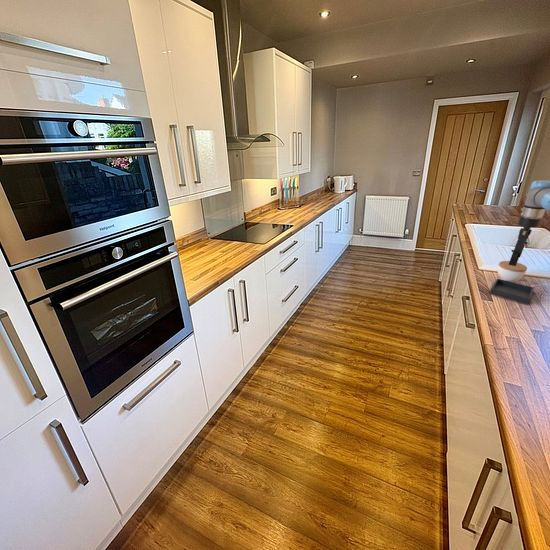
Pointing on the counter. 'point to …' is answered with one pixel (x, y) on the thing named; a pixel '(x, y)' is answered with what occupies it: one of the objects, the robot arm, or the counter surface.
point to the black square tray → (512, 291)
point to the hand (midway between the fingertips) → (514, 260)
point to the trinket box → (511, 271)
